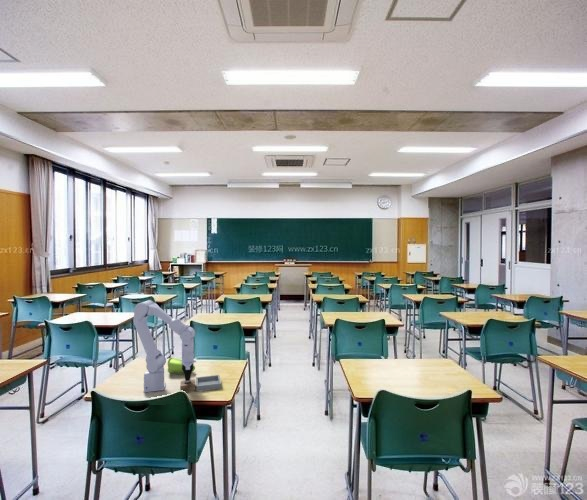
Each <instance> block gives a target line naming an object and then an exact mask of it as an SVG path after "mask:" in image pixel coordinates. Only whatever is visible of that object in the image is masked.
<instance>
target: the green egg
mask: <svg viewBox="0 0 587 500" xmlns="http://www.w3.org/2000/svg"><path fill="white" fill-rule="evenodd" d="M181 361H182V359H179V358H174V357H170V358H169V359H168V360H167V372H168V373H170V374H184V372H183V370H182V363H181ZM193 366H194V368H193V370H192V372H195V371H196V366H195V365H193Z"/></svg>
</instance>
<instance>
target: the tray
mask: <svg viewBox="0 0 587 500" xmlns="http://www.w3.org/2000/svg"><path fill="white" fill-rule="evenodd" d="M218 389H219V390H220V389H222V381H221V377H220V374H215V375H214V374H212V375H206V376H198V377H195V392H202V391H203V392H204V391H210V390H218Z"/></svg>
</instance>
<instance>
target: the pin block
mask: <svg viewBox="0 0 587 500" xmlns="http://www.w3.org/2000/svg"><path fill="white" fill-rule="evenodd" d="M179 388H180V390H183V391H186V392H192V391H196V378H193V379H191V378H190V383H189V384H185V379H184V380H183V379H182V380H180V387H179ZM180 390H179V391H180Z"/></svg>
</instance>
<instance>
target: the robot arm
mask: <svg viewBox="0 0 587 500" xmlns="http://www.w3.org/2000/svg"><path fill="white" fill-rule="evenodd" d="M149 316H156V317H157V318H159V319H160V320H162V321H163V322H165V323H166V324H168V328H169V329H170V330H171V331H173V332H174V333H176V334H177V335H178V336H179V338H180V340H181V360H182V361H181V363H182V370H183V372H184V373H183V375H184V376H183V377H184V380H186V381H190V380H191V377H192V373H193V371H192V370H193V368H194V366H195V365H194V364H195V363H197V359H195V350H194V349H195V342H194V339H195V338H194V337H195V335H196V330H195V329H194V327H192V326H189V325H187V324H185V323H184V322H182V320H181V319H180V318H177V317H176V318H173V317H172V316H171V315H169V314H168V313H167V312H166V311H165V310H164V309H162V308H161V307H160V306H159V305H158V304H157V303H156V302H154V301H153V300H151V299H148V300H146V301H142V302H139V303H137V304H136V305H135V307H134V308H133V320H132V321H133V325H134V327H135V329H136V330H135V331H137V334H138V337H139V340H140V342H141V344H142V346H143V349H144V352H145V355H146V357H145V363H146V364H145V365H146V370H147V371H144V373H143V393H149V392H151V393H152V392H159V391H160V392H161V391H165V389H166V383H165V367H164V366H165V365H166V363H167V358H166V356H164V354H163V353H162V351H161V350H159V349H158V347H157V345H156V343H155V340H154V338H153V335H152V332H151V330H150V327H149V325H148V322H147V320H148V318H149ZM193 365H194V366H193Z"/></svg>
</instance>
